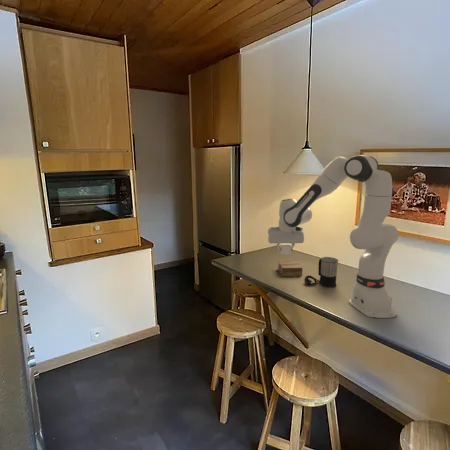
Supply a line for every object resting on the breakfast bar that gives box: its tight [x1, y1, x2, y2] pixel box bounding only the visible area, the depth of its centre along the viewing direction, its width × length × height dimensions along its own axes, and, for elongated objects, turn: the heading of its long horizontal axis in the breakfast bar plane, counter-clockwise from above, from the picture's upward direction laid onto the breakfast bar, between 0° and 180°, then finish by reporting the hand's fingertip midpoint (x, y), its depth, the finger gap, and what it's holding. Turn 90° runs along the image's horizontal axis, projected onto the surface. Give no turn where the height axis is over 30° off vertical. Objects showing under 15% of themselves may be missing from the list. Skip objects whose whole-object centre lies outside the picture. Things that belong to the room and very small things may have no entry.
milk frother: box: [303, 256, 339, 288], centre depth 175 cm, size 14×16×15 cm
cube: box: [279, 243, 292, 256], centre depth 181 cm, size 5×5×5 cm
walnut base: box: [277, 261, 303, 277], centre depth 195 cm, size 12×12×5 cm
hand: (285, 250), depth 181 cm, fingers closed on cube, 5 cm apart
